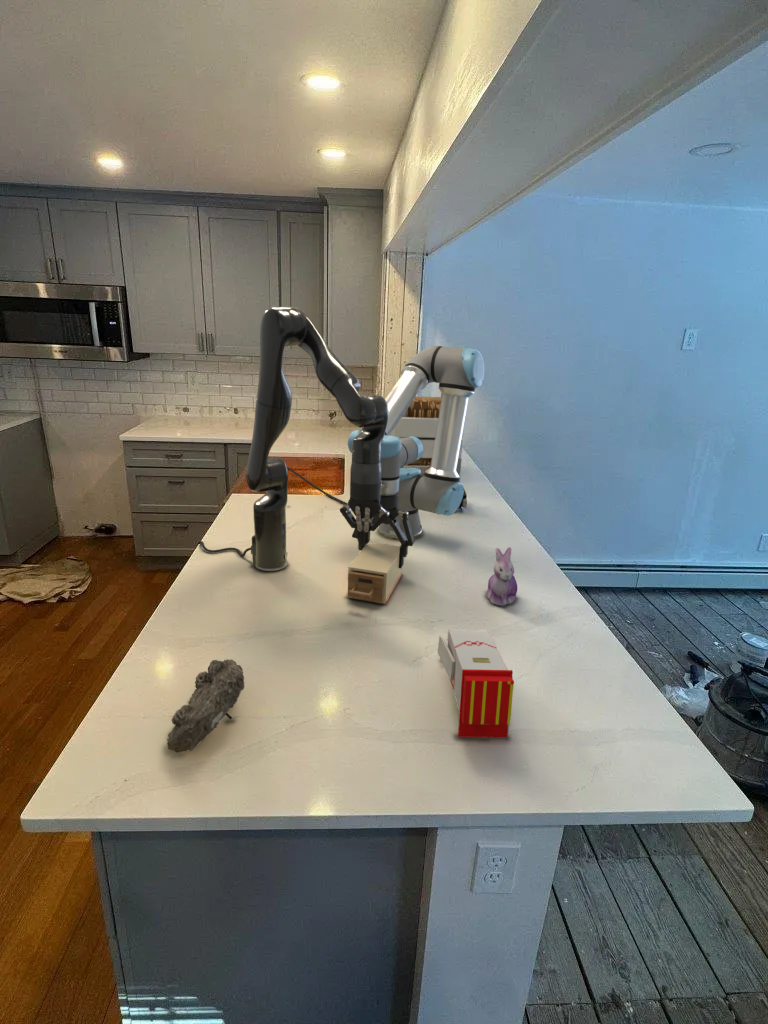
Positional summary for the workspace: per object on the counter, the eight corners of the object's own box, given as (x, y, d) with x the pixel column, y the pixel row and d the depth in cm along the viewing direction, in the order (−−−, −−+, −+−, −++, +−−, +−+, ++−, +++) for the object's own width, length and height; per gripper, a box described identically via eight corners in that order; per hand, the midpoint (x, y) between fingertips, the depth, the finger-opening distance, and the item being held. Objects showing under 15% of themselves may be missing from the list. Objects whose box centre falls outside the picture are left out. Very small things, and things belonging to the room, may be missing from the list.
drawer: (376, 613, 146) (377, 587, 143) (341, 607, 148) (341, 581, 145) (397, 576, 166) (398, 553, 164) (366, 571, 169) (367, 548, 166)
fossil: (192, 660, 117) (244, 628, 112) (224, 691, 120) (276, 661, 115) (142, 746, 98) (202, 712, 93) (182, 779, 101) (242, 748, 96)
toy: (488, 613, 130) (523, 677, 101) (484, 667, 133) (517, 744, 104) (435, 612, 130) (455, 676, 101) (432, 666, 133) (451, 743, 103)
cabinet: (385, 604, 152) (387, 573, 149) (347, 597, 155) (348, 566, 152) (401, 575, 169) (403, 546, 166) (367, 569, 172) (368, 541, 168)
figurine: (499, 610, 151) (506, 558, 146) (476, 593, 160) (482, 544, 155) (527, 603, 156) (534, 553, 151) (503, 587, 164) (509, 539, 159)
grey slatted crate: (382, 463, 289) (386, 382, 275) (445, 464, 293) (451, 384, 279) (390, 482, 257) (394, 392, 243) (460, 483, 261) (468, 394, 247)
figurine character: (467, 516, 223) (461, 500, 237) (469, 499, 220) (463, 483, 233) (450, 516, 223) (446, 499, 236) (452, 498, 220) (447, 483, 233)
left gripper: (334, 479, 136) (334, 546, 142) (388, 485, 133) (385, 553, 139) (344, 471, 143) (343, 535, 149) (395, 477, 140) (392, 542, 145)
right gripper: (341, 490, 158) (340, 562, 165) (423, 500, 152) (418, 574, 160) (350, 483, 165) (348, 552, 172) (428, 492, 159) (423, 564, 167)
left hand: (363, 544), depth 144 cm, fingers closed
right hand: (382, 563), depth 166 cm, fingers closed on cabinet, 11 cm apart
